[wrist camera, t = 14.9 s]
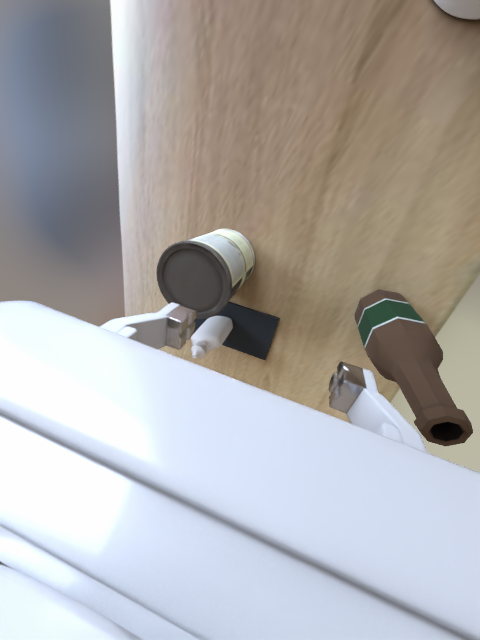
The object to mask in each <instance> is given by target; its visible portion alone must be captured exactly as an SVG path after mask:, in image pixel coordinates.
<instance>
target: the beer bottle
mask: <svg viewBox="0 0 480 640" xmlns="http://www.w3.org/2000/svg"><path fill="white" fill-rule="evenodd" d="M355 319H356V322H357V326H358V329H359V332H360V335H361V339H362V342H363V345H364V348H365V351H366V353H367V355H368V357H369V358H370V360H371V361H372V363H373V364H374V366H375V367H376V369H377V370H378V372H379V373H380V374H381V375H382V376H383V377H385V378H386V379H388V380H391V381H394V382H397V384H398V385H399V387H400V388H401V390H402V392H403V394H404V396H405V398H406V399H407V401H408V403H409V405H410V407H411V409H412V411H413V413H414V414H415V416H416V420H415V421H414V423H415V425H416V426H417V428H418V429H419V431H420V432H421V434H422V435H423V436H424V437H425V438H426V440H427V441H429V442H432V443H436V444H439V445H443V446H450V445H455V444H460V443H464V442H465V441H466V440H467V439H468V438H469V437H470V435H471V434H472V433H473V429H472V425H471V422H470V421H469V419H468V417H467V416H466V414H465V412H464V411H463V410H460V409H457V407H456V405H455V404H454V402H453V400H452V398H451V397H450V395H449V393H448V391H447V389H446V388H445V386H444V384H443V382H442V380H441V378H440V376H439V372H438V367H439V365H440V363H441V362H442V360H443V351H442V349H441V348H440V346H439V344H438V343H437V341H436V339H435V337H434V336H433V334H432V332H431V331H430V329H429V328H428V326H427V324H426V323H425V322H424V321H423V320H422V318H421V317H420V316H419V315H418V314H417V313H416V311H415V310H414V309H413V308H412V307H411V306H410V304H409V303H408V302H407V301H406V300H405V299H404V297H403V296H402V295H400V294H399V293H395V292H389V291H383V290H377V291H375V292H373V293H371V294H370V295H368V296H366V297H364V298H362V299H361V300H360V302H359V305H358V308H357V310H356V313H355Z"/></svg>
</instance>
